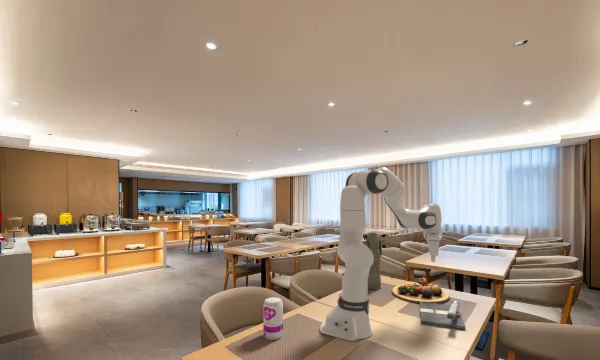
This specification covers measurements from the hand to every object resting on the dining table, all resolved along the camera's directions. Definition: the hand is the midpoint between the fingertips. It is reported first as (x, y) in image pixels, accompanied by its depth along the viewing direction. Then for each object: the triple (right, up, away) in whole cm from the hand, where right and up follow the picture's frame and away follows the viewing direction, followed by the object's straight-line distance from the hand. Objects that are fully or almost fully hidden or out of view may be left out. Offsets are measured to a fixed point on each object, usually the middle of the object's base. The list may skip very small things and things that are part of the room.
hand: (433, 261), depth 152 cm
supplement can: (-81, -24, -28) cm, 89 cm away
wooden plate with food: (+3, -27, +23) cm, 35 cm away
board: (0, -24, -9) cm, 26 cm away
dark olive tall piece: (-21, -27, +37) cm, 51 cm away
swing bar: (+2, -18, -17) cm, 25 cm away
